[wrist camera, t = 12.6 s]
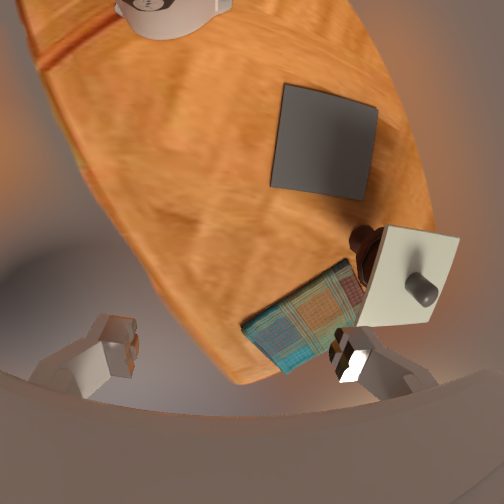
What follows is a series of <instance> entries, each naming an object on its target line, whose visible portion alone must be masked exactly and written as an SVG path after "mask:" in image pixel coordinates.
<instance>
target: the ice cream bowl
mask: <svg viewBox="0 0 504 504" xmlns="http://www.w3.org/2000/svg"><path fill="white" fill-rule="evenodd" d="M383 230H384V227H381V228H378V229H377V230H375V231H373V230H372V229H371V228H370V227H369V226H360V227H358V228H357V229H355V230H354V231H353V232H352V234H351V237H350V239H349V244H350V249H351V250H352V251H353V252H355V253H356V254H357V255H356V263H357V271H358V278H359V281H360V283H361V284H362V285H363V286H365V287H366V288H367V285H368V282H369V279H370V276H371V272H372V269H373V266H374V263H375V259H376V256H377V252H378V249H379V245H380V242H381V238H382V234H383Z"/></svg>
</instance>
